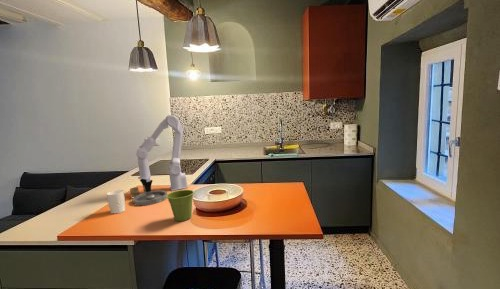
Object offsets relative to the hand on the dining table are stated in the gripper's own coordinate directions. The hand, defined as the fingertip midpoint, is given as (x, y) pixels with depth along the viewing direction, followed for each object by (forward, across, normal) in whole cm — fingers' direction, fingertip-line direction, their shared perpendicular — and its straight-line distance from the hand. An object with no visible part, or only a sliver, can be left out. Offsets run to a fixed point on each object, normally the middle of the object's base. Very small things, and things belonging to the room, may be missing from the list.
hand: (147, 191), depth 172 cm
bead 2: (+1, 0, 0) cm, 1 cm away
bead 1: (+2, 0, -7) cm, 7 cm away
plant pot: (+2, +52, +4) cm, 53 cm away
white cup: (+2, +19, -19) cm, 27 cm away
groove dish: (+2, +13, -1) cm, 13 cm away
